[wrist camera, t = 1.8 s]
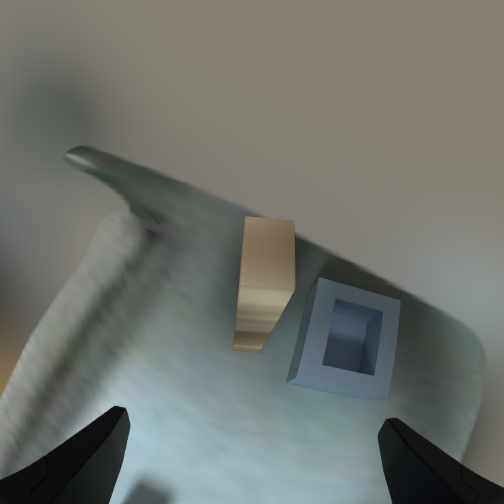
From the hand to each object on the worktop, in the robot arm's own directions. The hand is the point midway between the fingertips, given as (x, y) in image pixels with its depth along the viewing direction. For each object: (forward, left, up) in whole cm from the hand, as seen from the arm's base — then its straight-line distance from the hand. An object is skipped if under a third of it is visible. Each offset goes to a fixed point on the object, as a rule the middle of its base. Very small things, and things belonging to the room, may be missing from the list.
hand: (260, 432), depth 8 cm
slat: (+4, +5, -13) cm, 14 cm away
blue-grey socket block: (+9, 0, -13) cm, 16 cm away
